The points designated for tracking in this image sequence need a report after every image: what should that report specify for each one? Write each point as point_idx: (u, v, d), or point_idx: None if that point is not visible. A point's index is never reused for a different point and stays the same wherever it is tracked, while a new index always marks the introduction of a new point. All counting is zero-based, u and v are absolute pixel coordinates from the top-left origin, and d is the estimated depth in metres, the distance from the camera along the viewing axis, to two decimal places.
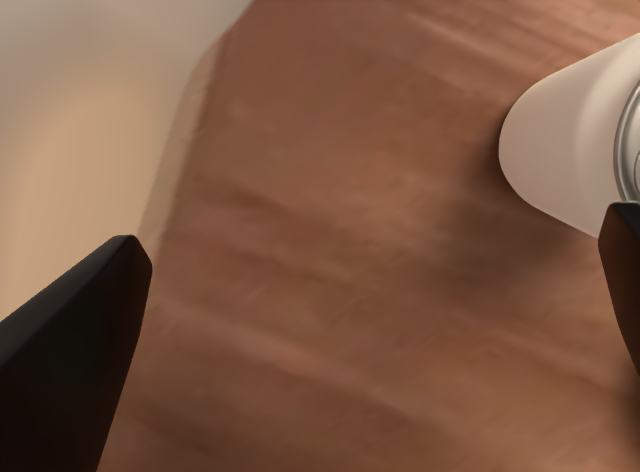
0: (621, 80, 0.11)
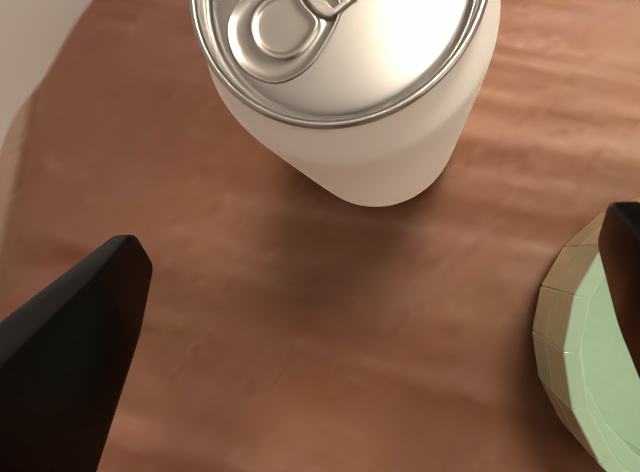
0: None
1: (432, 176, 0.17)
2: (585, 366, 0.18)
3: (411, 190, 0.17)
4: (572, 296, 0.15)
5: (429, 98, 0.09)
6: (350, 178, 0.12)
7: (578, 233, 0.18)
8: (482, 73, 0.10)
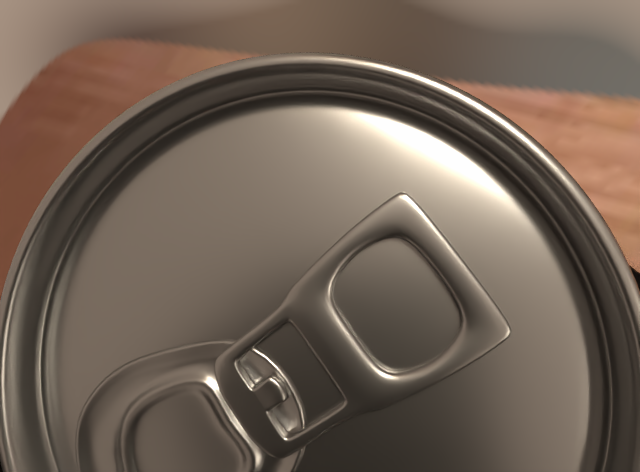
0: None
1: None
2: None
3: None
4: None
5: None
6: None
7: None
8: None
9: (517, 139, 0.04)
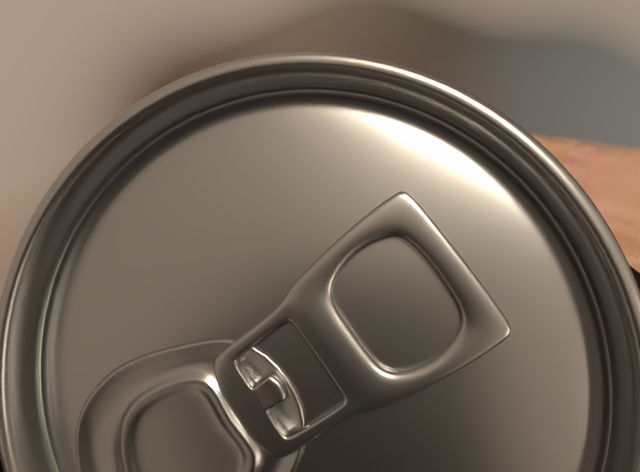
0: None
1: None
2: None
3: None
4: None
5: None
6: None
7: None
8: None
9: (517, 138, 0.04)
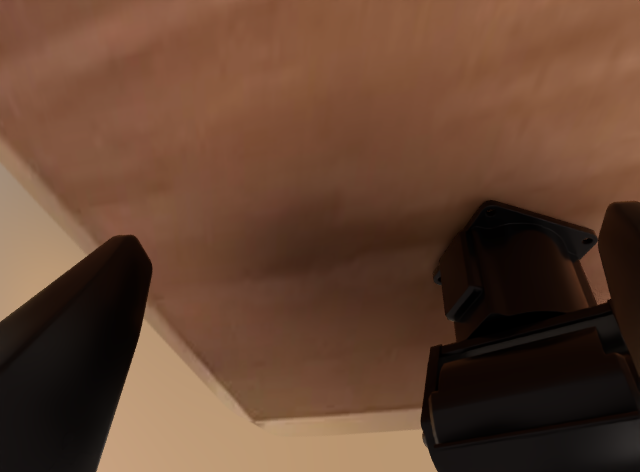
0: None
1: None
2: None
3: None
4: None
5: None
6: None
7: None
8: None
9: None
